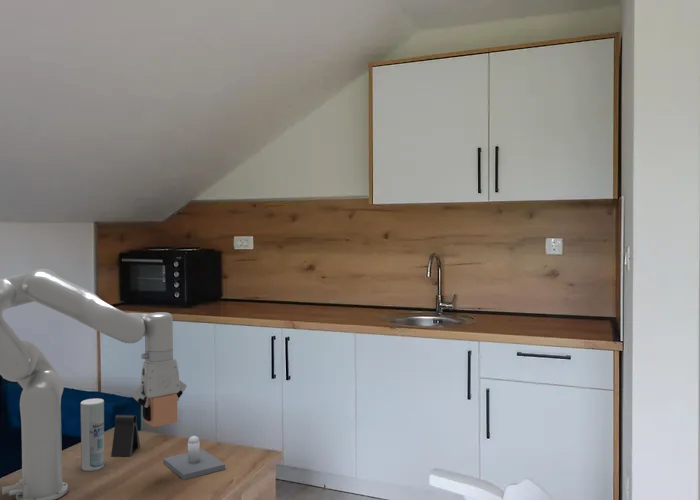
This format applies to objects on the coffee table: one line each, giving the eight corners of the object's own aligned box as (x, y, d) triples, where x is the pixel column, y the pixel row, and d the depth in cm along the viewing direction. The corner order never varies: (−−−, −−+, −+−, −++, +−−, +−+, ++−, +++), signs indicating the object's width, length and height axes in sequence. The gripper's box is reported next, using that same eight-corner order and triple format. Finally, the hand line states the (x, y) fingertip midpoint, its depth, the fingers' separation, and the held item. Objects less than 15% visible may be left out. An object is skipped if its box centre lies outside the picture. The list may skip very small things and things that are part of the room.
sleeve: (153, 427, 167) (153, 398, 167) (143, 421, 172) (143, 394, 172) (177, 421, 172) (176, 394, 172) (166, 416, 177) (166, 389, 177)
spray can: (92, 461, 185) (91, 397, 185) (109, 464, 183) (108, 399, 183) (76, 469, 179) (75, 403, 178) (93, 472, 177) (93, 405, 176)
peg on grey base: (183, 479, 171) (183, 448, 171) (163, 463, 184) (163, 433, 184) (225, 469, 179) (225, 438, 179) (203, 453, 192) (202, 425, 192)
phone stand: (122, 446, 198) (122, 410, 198) (140, 446, 198) (140, 410, 198) (110, 456, 189) (110, 419, 189) (129, 456, 189) (129, 419, 189)
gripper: (135, 362, 163) (136, 427, 164) (193, 353, 175) (194, 413, 175) (124, 358, 169) (125, 420, 169) (181, 349, 180) (182, 408, 181)
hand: (160, 416), depth 172 cm, fingers closed on sleeve, 7 cm apart
